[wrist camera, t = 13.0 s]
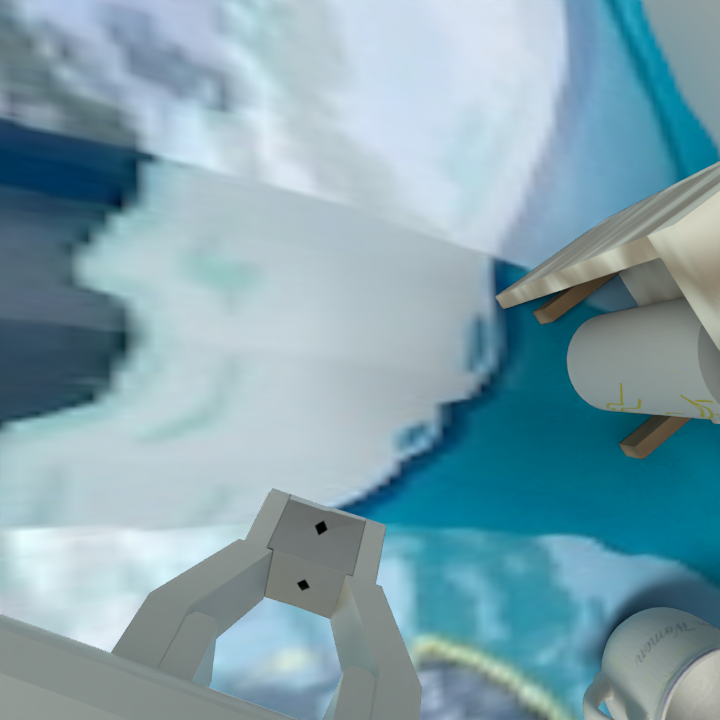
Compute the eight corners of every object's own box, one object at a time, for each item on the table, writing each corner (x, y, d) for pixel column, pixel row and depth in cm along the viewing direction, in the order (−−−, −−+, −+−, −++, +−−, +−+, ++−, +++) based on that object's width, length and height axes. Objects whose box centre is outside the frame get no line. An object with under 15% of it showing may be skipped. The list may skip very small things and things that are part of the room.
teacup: (703, 600, 39) (811, 656, 31) (685, 734, 38) (791, 826, 30) (555, 577, 36) (631, 631, 29) (532, 718, 36) (603, 814, 28)
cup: (569, 412, 37) (702, 426, 26) (564, 314, 38) (693, 282, 26) (656, 408, 39) (820, 420, 27) (650, 313, 39) (810, 283, 27)
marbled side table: (495, 296, 37) (673, 224, 20) (602, 220, 39) (846, 96, 22) (626, 497, 38) (900, 588, 21) (724, 413, 40) (1045, 435, 23)
